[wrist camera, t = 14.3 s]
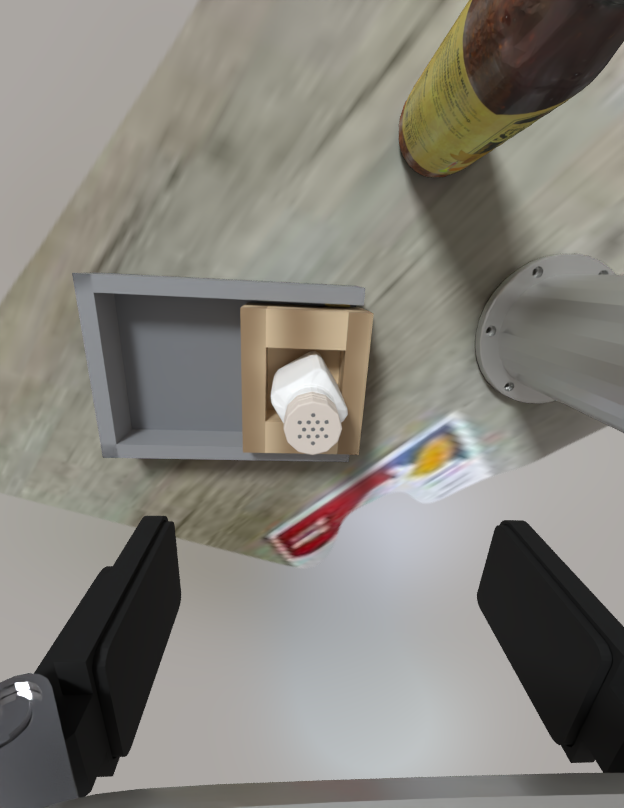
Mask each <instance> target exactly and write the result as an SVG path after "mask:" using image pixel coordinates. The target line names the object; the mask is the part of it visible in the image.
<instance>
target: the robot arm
mask: <svg viewBox="0 0 624 808" xmlns="http://www.w3.org/2000/svg"><path fill="white" fill-rule="evenodd" d="M532 272H533V274H532ZM487 328H488V331H487V332H486V330H487ZM475 349H476V357H477V361H478V364H479V367H480V370H481V372H482V374H483V375H484V377H485V378H486V380H487V381H488V382H489V383H490V384H491V385H492V386H493V387H494V388H495V389H496V390H497V391H499V392H501V393H502V394H504V395H505V396H507V397H510V398H512V399H514V400H516V401H520V402H525V403H547V402H553V401H556V400H557V401H559V402H561V403H563V404H565V405H567V406H569V407H571V408H573V409H575V410H577V411H580V412H582V413H584V414H586V415H588V416H590V417H592V418H594V419H596V420H598V421H600V422H602V423H604V424H606V425H609V426H611V427H613V428H615V429H617V430H619V431H621V432H623V433H624V275H616V274H615V273H614V272H613V270H612V269H611V268H610V267H608V266H607V265H606V264H604V263H603V262H602V261H600V260H598V259H595V258H593V257H591V256H587V255H582V254H576V253H573V254H557V255H550V256H545V257H542V258H539V259H537V260H534V261H531V262H530V263H528V264H526V265H524V266H522V267H521V268H519V269H517V270H516V271H515V272H514V273H512V274H511V275H510V276H509V277H507V278H506V279H505V280H504V281H503V282H502V283H501V285H500V286H499V287H498V288H497V289H496V290H495V291H494V293H493V294H492V296H491V297H490V299H489V300H488V302H487V304H486V305H485V308H484V310H483V312H482V314H481V317H480V319H479V323H478V327H477V331H476V342H475ZM179 578H180V577H179V567H178V558H177V547H176V536H175V526H174V522H170V521H168V518H167V517H166V516H144V517H143V518H142V520H141V521H140V523H139V525H138V526H137V528H136V530H135V531H134V533H133V535H132V536H131V538H130V539H129V541H128V542H127V544H126V546H125V547H124V549H123V551H122V552H121V554H120V555H119V557H118V559H117V560H116V562H115V564H114V565H113V566H111V567H110V566H109V567H108V566H107V567H105V568H103V569H102V570H101V572H100V573H99V574H98V576H97V577H96V579H95V580H94V582H93V583H92V585H91V586H90V588H89V589H88V591H87V593H86V594H85V596H84V597H83V599H82V600H81V602H80V603H79V605H78V607H77V608H76V610H75V611H74V613H73V614H72V616H71V617H70V619H69V620H68V622H67V623H66V625H65V626H64V628H63V630H62V631H61V633H60V634H59V636H58V637H57V639H56V640H55V642H54V643H53V645H52V646H51V648H50V650H49V651H48V653H47V654H46V656H45V657H44V659H43V660H42V662H41V663H40V665H39V666H38V668H37V670H36V671H35V673H34V674H32V673H27V674H23V675H18V676H14V677H12V678H9V679H7V680H5V681H2V682H0V808H624V627H623V626H622V625H621V623H620V622H619V621H618V620H617V619H616V618H615V617H614V616H613V615H612V614H611V613H610V612H609V611H608V609H607V608H606V607H605V606H604V605H603V604H602V603H601V602H600V601H599V600H598V599H597V598H596V596H595V595H594V594H593V593H592V592H591V591H590V590H589V589H588V588H587V587H586V586H585V585H584V584H583V583H582V581H581V580H580V579H579V578H578V577H577V576H576V575H575V574H574V573H573V572H572V571H571V570H570V568H569V567H568V566H567V565H566V564H565V563H564V562H563V561H562V560H561V559H560V558H559V557H558V556H557V554H555V552H554V551H553V550H552V549H551V548H550V547H549V546H548V545H547V544H546V543H545V541H544V540H543V539H542V538H541V537H540V536H539V535H538V534H537V533H536V532H535V531H534V530H533V529H532V527H531V526H530V525H529V524H528V523H527V522H525V521H516V520H515V521H514V520H505V521H502V522H501V524H500V525H499V526H496V528H495V530H494V534H493V537H492V541H491V545H490V548H489V553H488V556H487V560H486V563H485V567H484V570H483V574H482V578H481V581H480V585H479V589H478V592H477V600H478V604H479V607H480V609H481V611H482V613H483V614H484V616H485V618H486V620H487V621H488V624H489V625H490V627H491V629H492V631H493V633H494V634H495V636H496V638H497V640H498V642H499V643H500V645H501V647H502V649H503V651H504V653H505V654H506V656H507V658H508V660H509V662H510V663H511V665H512V667H513V669H514V670H515V672H516V674H517V676H518V678H519V680H520V682H521V683H522V685H523V687H524V689H525V691H526V692H527V694H528V696H529V698H530V699H531V701H532V703H533V705H534V707H535V709H536V711H537V712H538V714H539V716H540V718H541V720H542V721H543V723H544V725H545V727H546V729H547V730H548V732H549V734H550V735H551V737H552V739H553V740H554V741H555V742H556V743H557V744H558V745H561V746H562V748H563V750H564V751H565V753H566V755H567V757H568V759H569V760H570V762H571V763H582V762H594V761H595V760H596V762H597V763H598V765H599V766H600V768H601V770H602V771H603V773H565V774H564V773H563V774H529V775H528V774H523V775H482V776H452V777H451V776H449V777H414V778H383V779H355V780H354V779H351V780H322V781H296V782H272V783H271V782H270V783H244V784H217V785H200V786H184V787H167V788H150V789H136V790H127V791H119V792H111V793H102V794H95V795H90V796H86V795H87V794H88V793H90V792H91V790H92V787H93V785H94V783H95V780H96V777H104V776H105V777H107V776H113V774H114V772H115V769H116V766H117V763H118V760H119V758H120V757H125V756H127V754H128V753H129V751H130V748H131V746H132V743H133V740H134V737H135V735H136V732H137V729H138V726H139V723H140V720H141V717H142V714H143V711H144V708H145V706H146V703H147V700H148V697H149V694H150V691H151V688H152V685H153V682H154V679H155V676H156V674H157V671H158V668H159V665H160V662H161V659H162V656H163V653H164V650H165V647H166V645H167V642H168V639H169V636H170V633H171V630H172V626H173V624H174V621H175V618H176V615H177V612H178V609H179V606H180V601H181V588H180V579H179ZM85 796H86V797H85Z"/></svg>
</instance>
